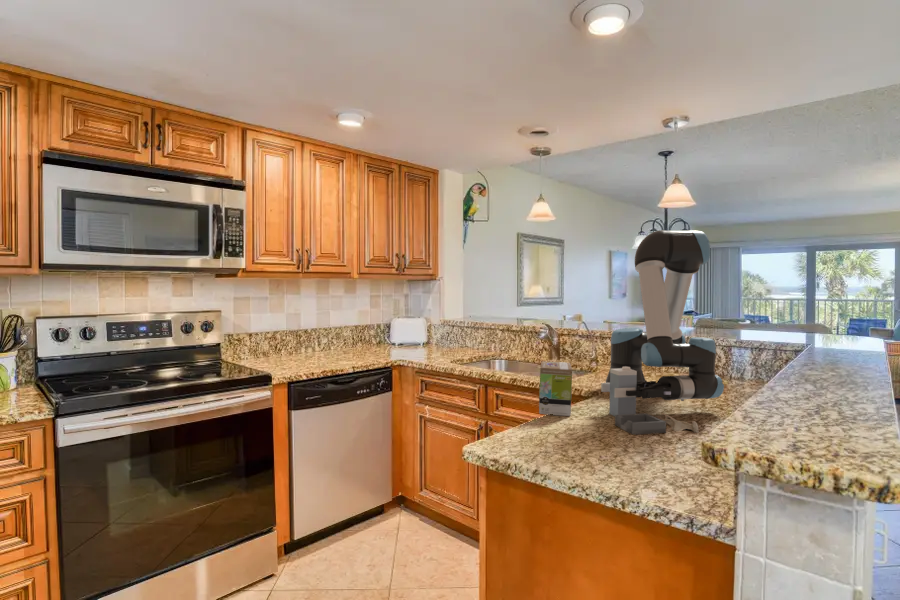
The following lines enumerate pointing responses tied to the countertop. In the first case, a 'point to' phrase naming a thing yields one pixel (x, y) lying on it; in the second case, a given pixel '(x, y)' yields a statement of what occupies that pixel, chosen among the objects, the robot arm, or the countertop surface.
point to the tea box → (555, 388)
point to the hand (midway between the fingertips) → (608, 390)
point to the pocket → (640, 423)
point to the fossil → (680, 424)
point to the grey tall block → (622, 380)
